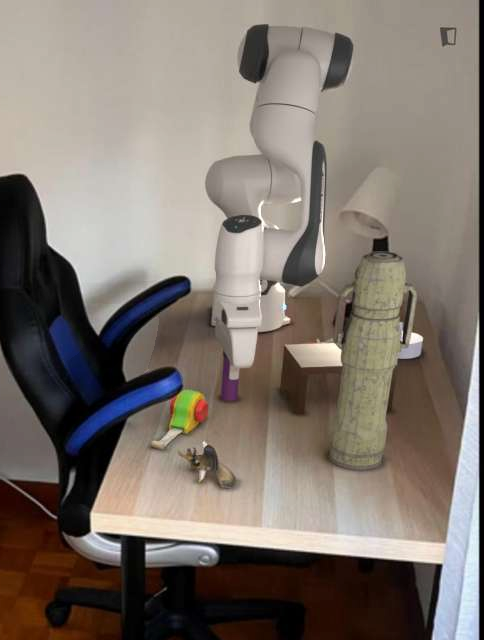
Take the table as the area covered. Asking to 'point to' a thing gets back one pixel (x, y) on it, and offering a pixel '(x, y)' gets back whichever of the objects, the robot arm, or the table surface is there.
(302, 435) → the table surface
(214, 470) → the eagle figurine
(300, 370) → the small wooden stool
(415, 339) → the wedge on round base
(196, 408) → the toy measuring tape
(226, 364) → the marker
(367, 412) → the thermos
